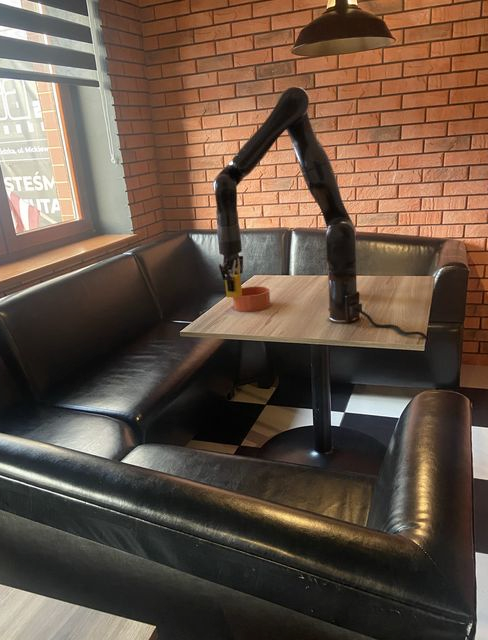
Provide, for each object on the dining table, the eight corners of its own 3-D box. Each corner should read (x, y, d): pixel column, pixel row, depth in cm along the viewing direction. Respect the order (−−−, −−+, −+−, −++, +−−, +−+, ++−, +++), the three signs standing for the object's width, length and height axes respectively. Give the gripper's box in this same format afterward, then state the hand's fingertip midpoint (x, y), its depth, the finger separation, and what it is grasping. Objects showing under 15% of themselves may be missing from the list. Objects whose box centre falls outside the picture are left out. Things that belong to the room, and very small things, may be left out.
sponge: (242, 294, 182) (240, 274, 179) (237, 297, 178) (235, 277, 176) (231, 294, 183) (229, 274, 181) (226, 297, 180) (224, 277, 178)
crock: (277, 304, 208) (276, 289, 205) (250, 313, 199) (249, 298, 197) (253, 299, 218) (252, 284, 216) (226, 307, 210) (225, 293, 208)
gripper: (230, 242, 167) (235, 295, 173) (248, 234, 178) (252, 284, 184) (209, 242, 170) (214, 295, 176) (228, 234, 182) (233, 284, 188)
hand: (234, 289), depth 180 cm, fingers closed on sponge, 4 cm apart
